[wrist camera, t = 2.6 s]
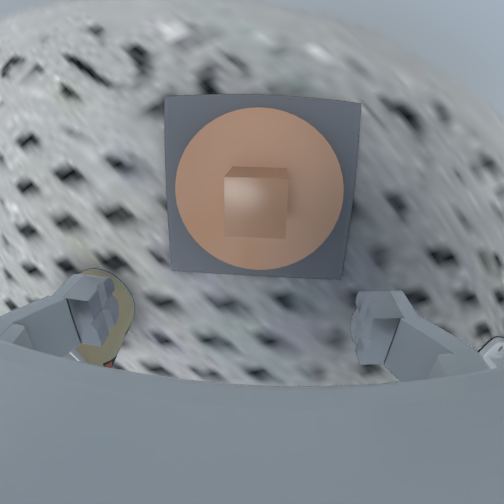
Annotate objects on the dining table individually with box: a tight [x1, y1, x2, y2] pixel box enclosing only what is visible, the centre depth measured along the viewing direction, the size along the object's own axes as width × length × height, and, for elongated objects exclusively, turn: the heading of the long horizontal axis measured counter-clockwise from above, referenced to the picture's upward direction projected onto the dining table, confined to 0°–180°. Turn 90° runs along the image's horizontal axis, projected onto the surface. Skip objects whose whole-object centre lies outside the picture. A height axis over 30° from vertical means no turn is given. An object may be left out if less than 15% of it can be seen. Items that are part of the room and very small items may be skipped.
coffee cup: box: [63, 269, 135, 368], centre depth 25 cm, size 9×9×12 cm
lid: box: [175, 107, 344, 270], centre depth 22 cm, size 13×13×5 cm
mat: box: [164, 94, 361, 280], centre depth 25 cm, size 15×15×1 cm
